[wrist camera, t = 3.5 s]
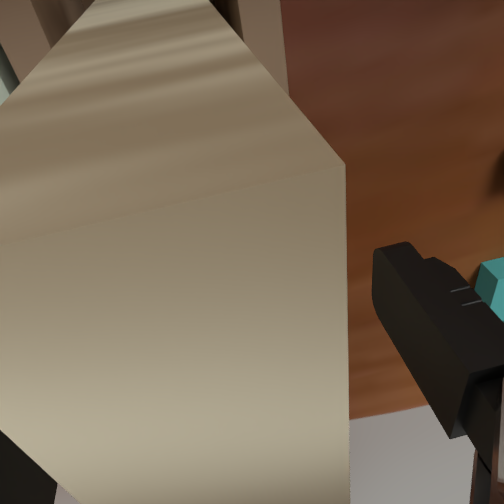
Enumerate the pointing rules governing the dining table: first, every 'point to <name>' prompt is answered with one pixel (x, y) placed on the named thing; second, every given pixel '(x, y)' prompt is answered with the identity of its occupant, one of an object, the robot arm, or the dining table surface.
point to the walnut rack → (76, 3)
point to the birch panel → (171, 269)
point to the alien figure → (492, 285)
